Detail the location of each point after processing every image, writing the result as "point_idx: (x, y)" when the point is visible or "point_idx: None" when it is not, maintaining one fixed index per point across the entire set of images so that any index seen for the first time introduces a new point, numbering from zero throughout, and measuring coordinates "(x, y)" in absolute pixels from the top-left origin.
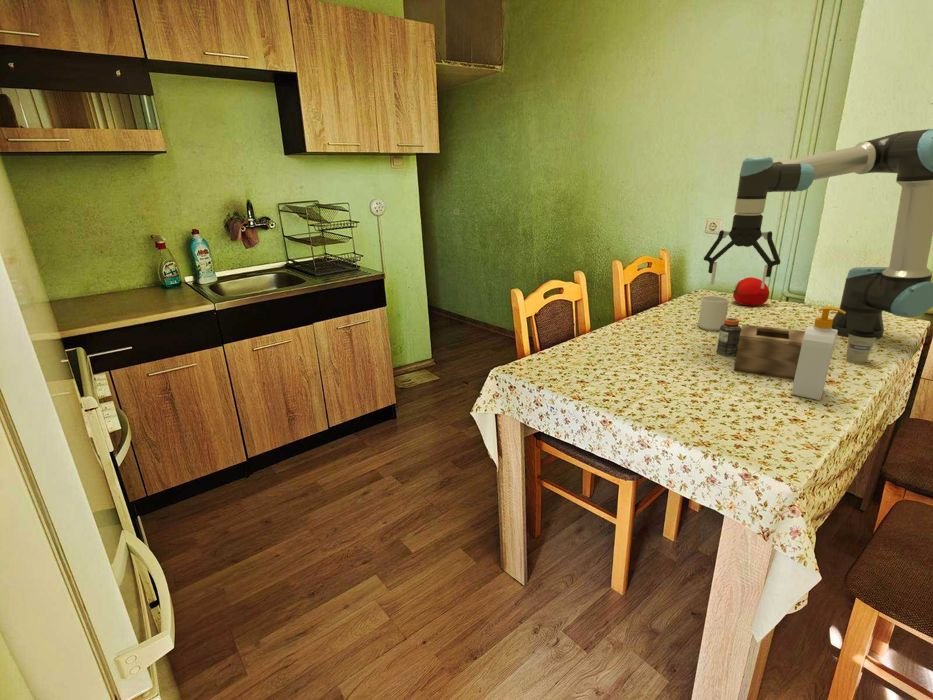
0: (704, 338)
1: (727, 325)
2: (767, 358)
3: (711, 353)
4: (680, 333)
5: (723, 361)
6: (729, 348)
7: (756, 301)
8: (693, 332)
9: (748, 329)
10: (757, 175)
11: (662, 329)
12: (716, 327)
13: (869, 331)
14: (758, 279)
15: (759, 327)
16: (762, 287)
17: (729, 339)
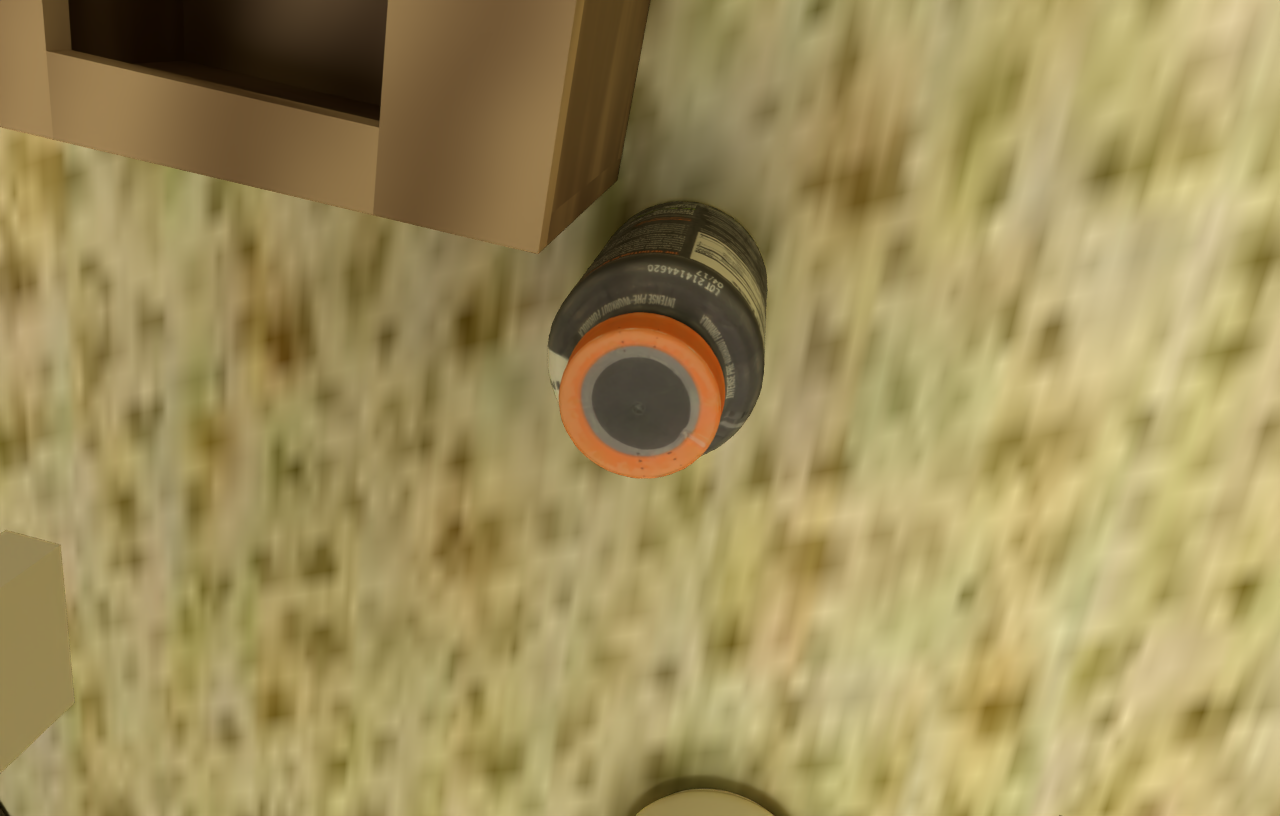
0: (806, 614)
1: (696, 330)
2: None
3: (819, 239)
4: (984, 708)
5: (749, 28)
6: (675, 213)
7: None
8: (867, 740)
9: (485, 9)
10: None
11: (1120, 787)
12: (685, 801)
13: None
14: None
15: (352, 147)
16: (12, 549)
17: (677, 236)
